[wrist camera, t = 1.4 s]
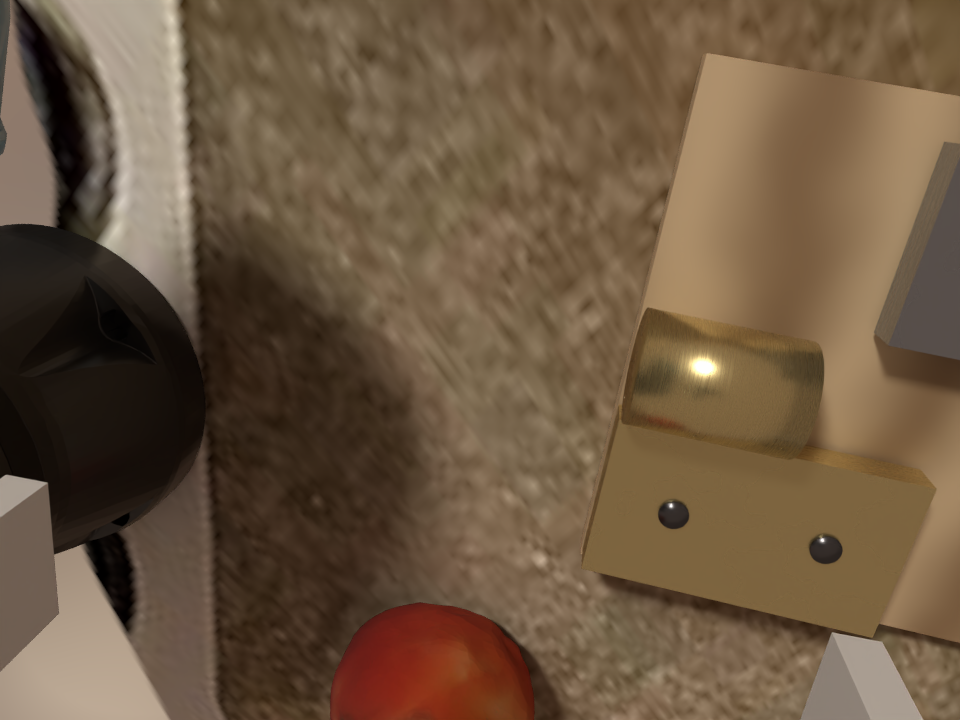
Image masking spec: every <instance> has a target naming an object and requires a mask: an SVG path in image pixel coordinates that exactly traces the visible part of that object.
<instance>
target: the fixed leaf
mask: <svg viewBox="0 0 960 720" xmlns="http://www.w3.org/2000/svg"><path fill="white" fill-rule="evenodd" d="M874 333H875V334H876V335H877V336H878V337H879V338H880V339H882V340H883V341H884V342H885V343H886V344H887V345H888V346H893V347H898V348H903V349H908V350H913V351H918V352H923V353H927V354H932V355H937V356H942V357H947V358H952V359H957V360H960V144H958V143H951V142H944V144H943V146H942V149H941V152H940V154H939V157H938V160H937V162H936V165H935V168H934V171H933V173H932V176H931V179H930V181H929V184H928V187H927V190H926V192H925V195H924V198H923V200H922V203H921V206H920V209H919V211H918V214H917V217H916V219H915V222H914V225H913V227H912V230H911V233H910V236H909V238H908V241H907V244H906V246H905V249H904V252H903V255H902V257H901V260H900V263H899V265H898V268H897V271H896V274H895V276H894V279H893V282H892V284H891V287H890V290H889V292H888V295H887V298H886V301H885V303H884V306H883V309H882V311H881V314H880V317H879V320H878V322H877V325H876V328H875V330H874Z"/></svg>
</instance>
